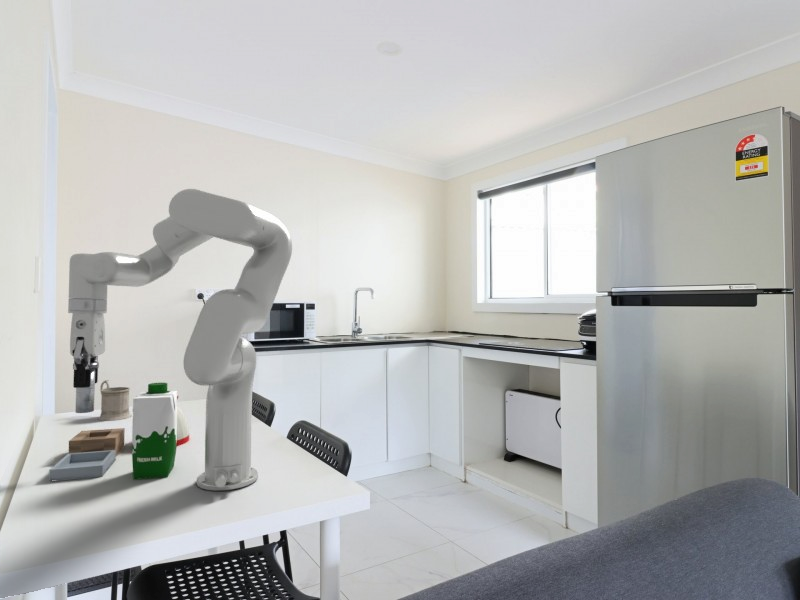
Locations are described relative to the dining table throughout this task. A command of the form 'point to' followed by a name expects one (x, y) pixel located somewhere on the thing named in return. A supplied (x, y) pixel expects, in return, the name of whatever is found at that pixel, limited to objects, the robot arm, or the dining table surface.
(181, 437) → the kitchen timer
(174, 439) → the milk carton
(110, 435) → the socket block
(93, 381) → the pin
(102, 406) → the mug
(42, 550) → the dining table surface
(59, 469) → the tray
